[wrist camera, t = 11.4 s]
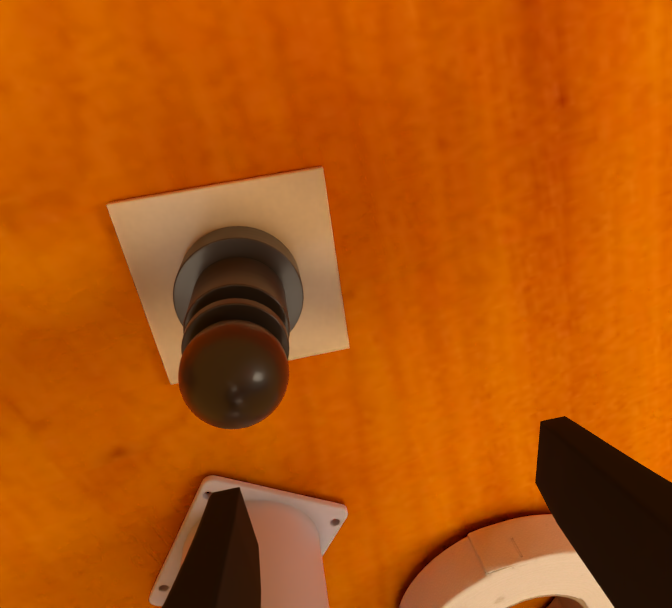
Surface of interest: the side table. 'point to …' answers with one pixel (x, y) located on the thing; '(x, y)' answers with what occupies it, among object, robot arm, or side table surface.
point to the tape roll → (507, 570)
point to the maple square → (224, 211)
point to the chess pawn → (236, 324)
